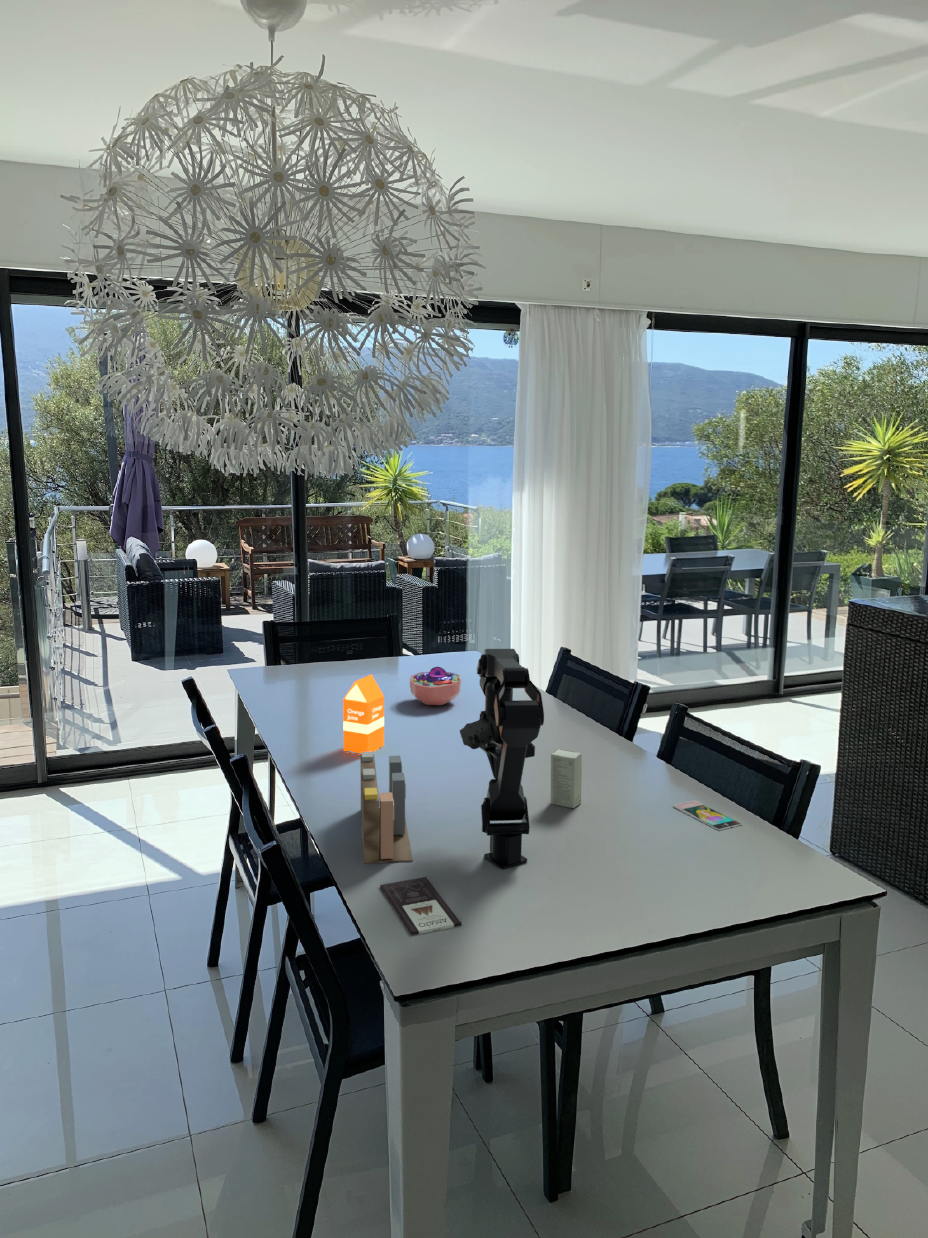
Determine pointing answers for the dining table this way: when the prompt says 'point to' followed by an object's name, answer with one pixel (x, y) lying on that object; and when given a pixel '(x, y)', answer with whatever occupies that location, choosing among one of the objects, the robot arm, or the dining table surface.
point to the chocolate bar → (420, 906)
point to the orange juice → (363, 716)
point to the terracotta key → (386, 825)
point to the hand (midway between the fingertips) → (497, 778)
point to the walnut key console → (377, 818)
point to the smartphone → (706, 815)
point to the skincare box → (566, 778)
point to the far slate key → (394, 768)
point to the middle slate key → (399, 803)
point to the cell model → (435, 686)
